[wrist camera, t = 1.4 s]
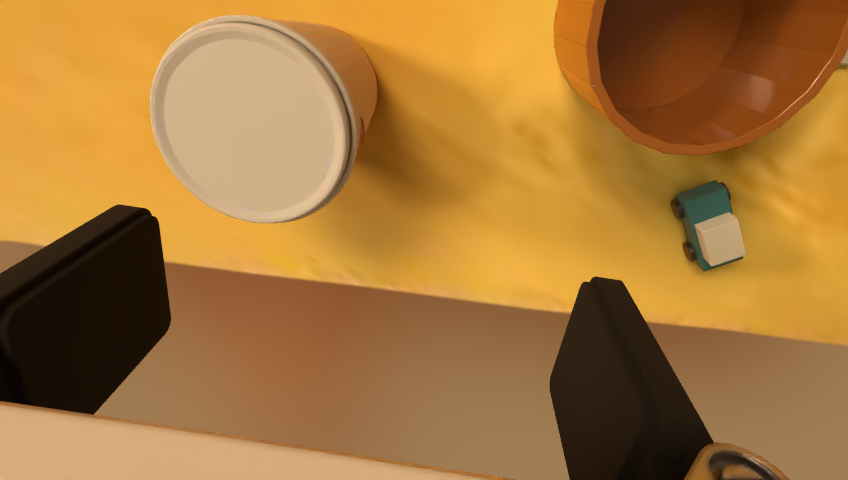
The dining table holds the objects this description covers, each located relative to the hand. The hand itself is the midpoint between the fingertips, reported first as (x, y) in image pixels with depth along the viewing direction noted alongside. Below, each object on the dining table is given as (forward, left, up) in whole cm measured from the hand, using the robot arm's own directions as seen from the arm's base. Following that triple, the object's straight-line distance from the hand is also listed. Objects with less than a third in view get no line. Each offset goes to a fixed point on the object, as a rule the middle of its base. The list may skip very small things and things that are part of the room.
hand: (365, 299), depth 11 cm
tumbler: (-13, +3, -24) cm, 27 cm away
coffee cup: (+6, -5, -24) cm, 25 cm away
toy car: (-11, +17, -24) cm, 31 cm away
